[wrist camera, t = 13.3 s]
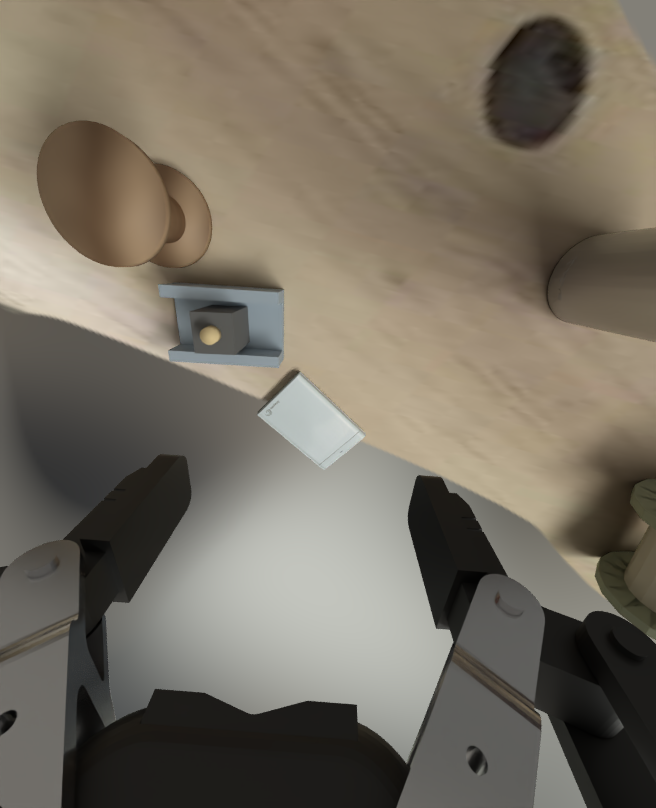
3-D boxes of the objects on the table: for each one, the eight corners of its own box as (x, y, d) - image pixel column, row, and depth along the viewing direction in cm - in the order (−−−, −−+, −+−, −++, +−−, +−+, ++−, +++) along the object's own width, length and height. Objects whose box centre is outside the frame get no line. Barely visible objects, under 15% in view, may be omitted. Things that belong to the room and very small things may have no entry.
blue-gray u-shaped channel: (283, 289, 34) (278, 291, 30) (283, 358, 37) (278, 368, 34) (176, 282, 34) (157, 283, 30) (185, 352, 37) (169, 361, 33)
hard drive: (256, 415, 39) (323, 471, 43) (299, 373, 37) (366, 436, 41) (258, 410, 41) (323, 464, 44) (300, 369, 39) (365, 430, 42)
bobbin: (207, 170, 30) (153, 126, 21) (215, 270, 33) (173, 270, 24) (114, 163, 29) (18, 115, 20) (133, 264, 33) (58, 262, 24)
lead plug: (247, 306, 34) (228, 315, 27) (249, 341, 35) (231, 358, 29) (211, 304, 34) (183, 313, 27) (215, 340, 35) (189, 356, 29)
